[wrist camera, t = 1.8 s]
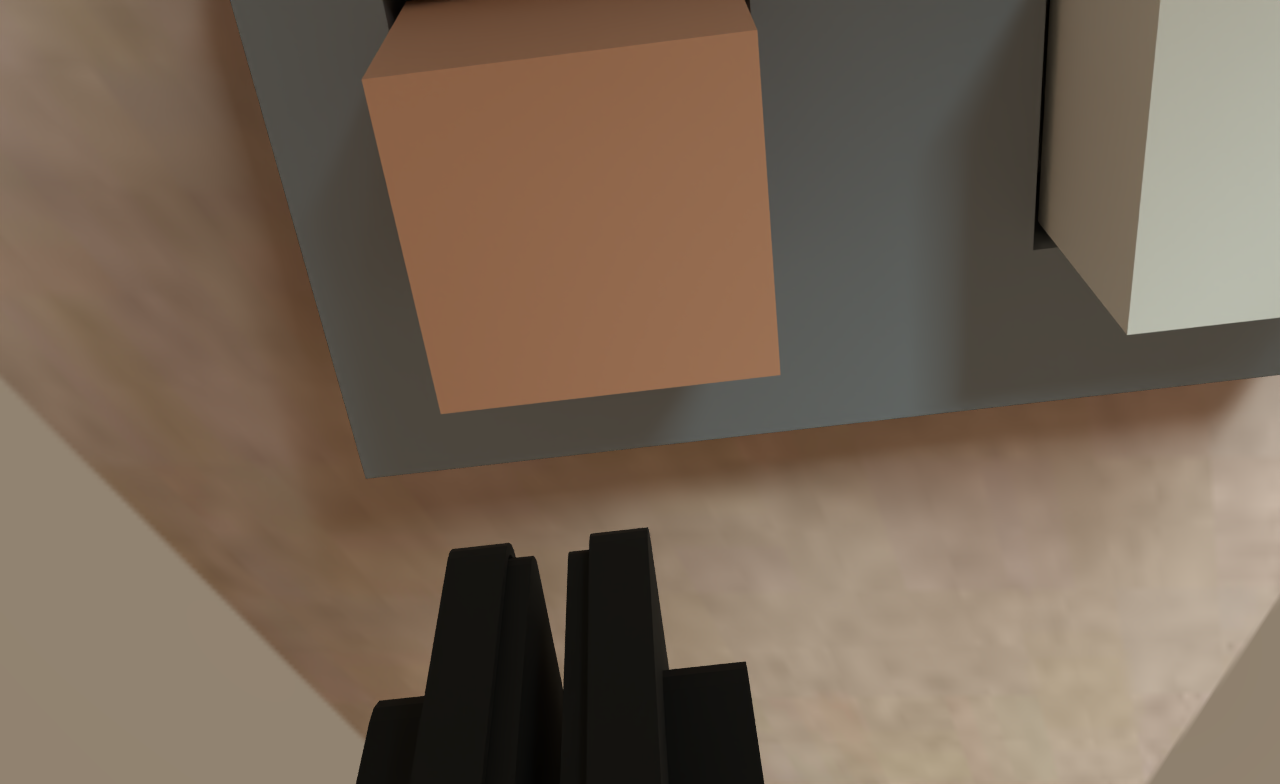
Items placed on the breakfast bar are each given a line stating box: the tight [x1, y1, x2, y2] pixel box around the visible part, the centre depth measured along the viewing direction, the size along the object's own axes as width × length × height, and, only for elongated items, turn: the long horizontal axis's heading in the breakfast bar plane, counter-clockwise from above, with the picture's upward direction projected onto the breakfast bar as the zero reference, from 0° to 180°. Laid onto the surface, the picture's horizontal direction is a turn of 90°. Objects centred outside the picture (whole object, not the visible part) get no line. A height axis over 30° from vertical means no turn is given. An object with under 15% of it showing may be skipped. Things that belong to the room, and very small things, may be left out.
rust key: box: [362, 0, 781, 414], centre depth 22 cm, size 6×6×5 cm
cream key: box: [1038, 0, 1280, 335], centre depth 22 cm, size 6×6×5 cm
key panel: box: [230, 0, 1280, 479], centre depth 26 cm, size 14×24×5 cm, turn 97°
